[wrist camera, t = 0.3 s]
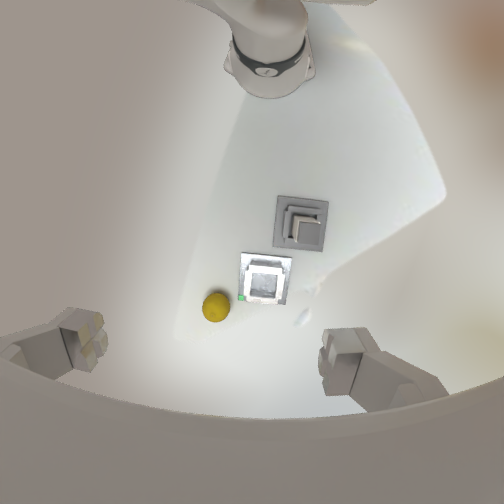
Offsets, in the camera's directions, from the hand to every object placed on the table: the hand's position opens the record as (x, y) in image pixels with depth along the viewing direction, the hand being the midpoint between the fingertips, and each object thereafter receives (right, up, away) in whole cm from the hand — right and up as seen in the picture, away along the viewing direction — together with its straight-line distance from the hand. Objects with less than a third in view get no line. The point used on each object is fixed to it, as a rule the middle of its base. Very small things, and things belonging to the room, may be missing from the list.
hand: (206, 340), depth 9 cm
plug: (+11, +8, +45) cm, 47 cm away
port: (+4, -2, +49) cm, 49 cm away
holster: (+11, +9, +46) cm, 48 cm away
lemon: (-5, -7, +51) cm, 51 cm away
